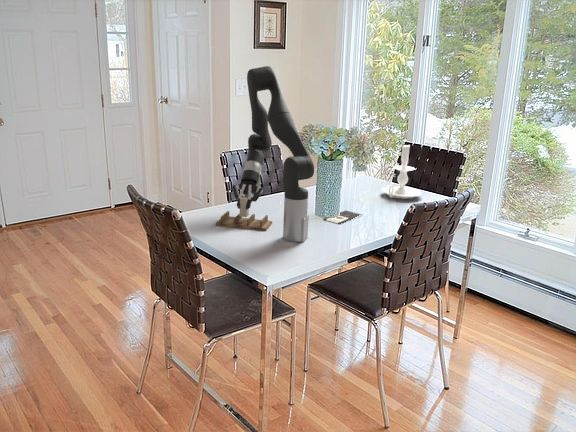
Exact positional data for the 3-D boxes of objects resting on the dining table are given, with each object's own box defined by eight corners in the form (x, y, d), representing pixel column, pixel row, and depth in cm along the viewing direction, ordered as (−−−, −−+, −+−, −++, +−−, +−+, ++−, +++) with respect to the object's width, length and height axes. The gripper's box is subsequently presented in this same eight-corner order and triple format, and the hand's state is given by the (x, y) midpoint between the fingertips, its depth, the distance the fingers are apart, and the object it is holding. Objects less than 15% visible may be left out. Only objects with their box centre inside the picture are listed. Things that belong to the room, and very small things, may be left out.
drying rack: (272, 223, 227) (272, 215, 226) (266, 230, 218) (266, 222, 217) (223, 218, 232) (223, 210, 231) (215, 225, 223) (215, 216, 221)
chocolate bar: (362, 214, 243) (340, 223, 230) (361, 216, 243) (340, 225, 230) (345, 210, 248) (323, 218, 235) (345, 212, 249) (323, 220, 235)
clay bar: (248, 215, 225) (248, 197, 223) (246, 217, 222) (246, 199, 220) (241, 214, 226) (242, 196, 223) (239, 216, 223) (239, 198, 220)
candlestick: (369, 198, 273) (374, 144, 264) (392, 189, 291) (397, 139, 283) (406, 206, 261) (412, 150, 252) (427, 197, 279) (433, 144, 271)
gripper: (234, 167, 226) (224, 202, 219) (265, 170, 224) (257, 205, 216) (238, 176, 233) (228, 210, 225) (268, 179, 230) (260, 214, 223)
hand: (242, 208), depth 221 cm, fingers closed on clay bar, 3 cm apart
